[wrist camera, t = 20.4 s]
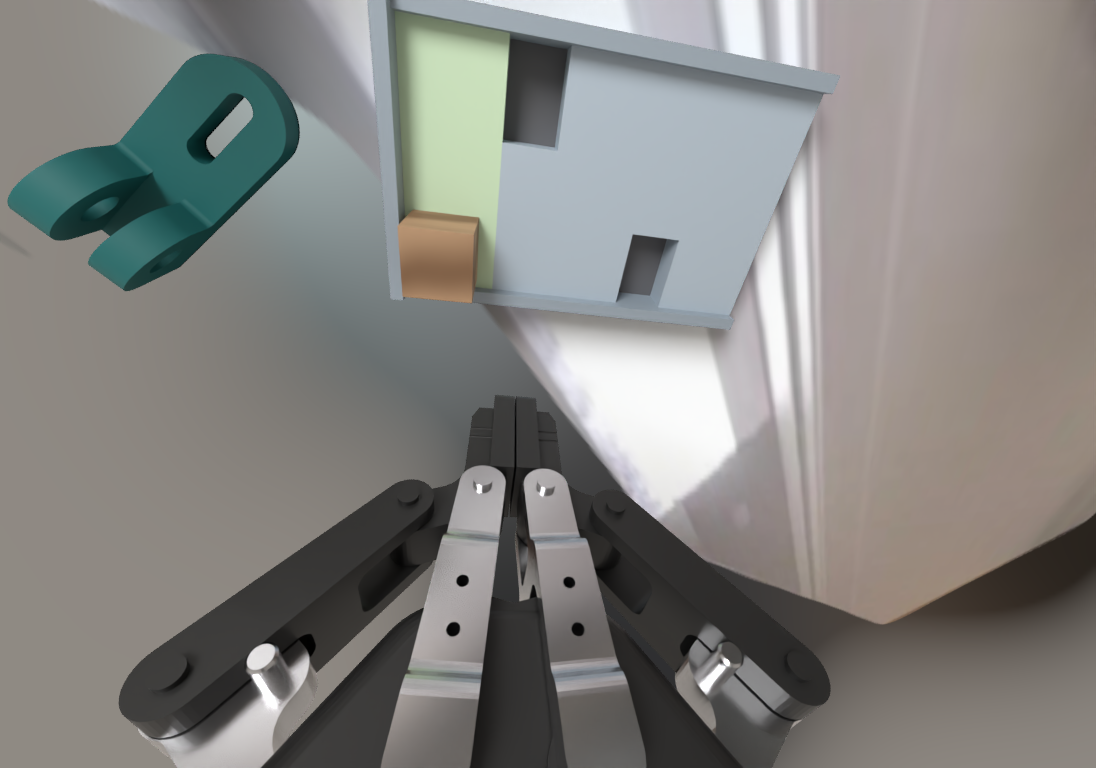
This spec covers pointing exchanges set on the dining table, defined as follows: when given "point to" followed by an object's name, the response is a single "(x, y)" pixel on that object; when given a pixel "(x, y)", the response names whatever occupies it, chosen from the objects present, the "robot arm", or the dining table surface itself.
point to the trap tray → (585, 156)
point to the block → (438, 256)
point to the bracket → (166, 172)
